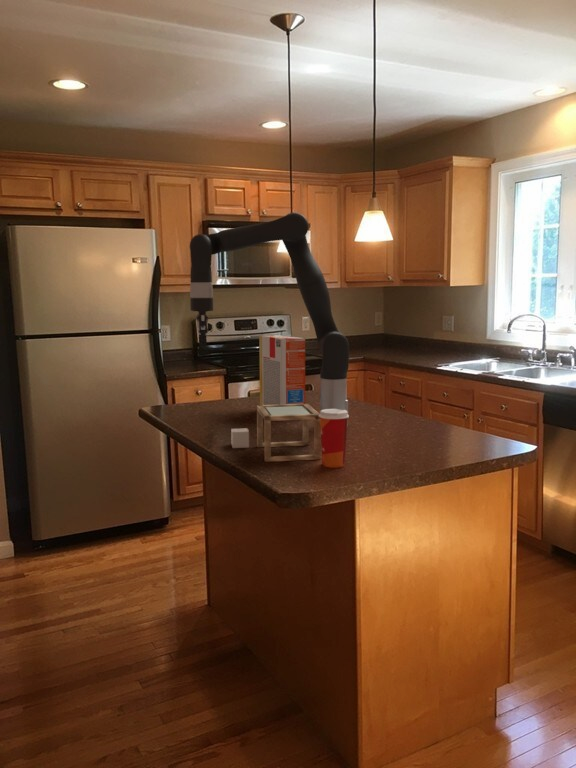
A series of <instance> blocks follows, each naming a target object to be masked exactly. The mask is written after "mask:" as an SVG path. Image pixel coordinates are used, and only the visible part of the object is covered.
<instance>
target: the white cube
mask: <svg viewBox="0 0 576 768" xmlns="http://www.w3.org/2000/svg"><path fill="white" fill-rule="evenodd" d="M230 430H231V432H230V437H231V440H230V441H231V443H230V444H231V447H232V449H243V448H250V432H249V431H250V430H249V429H248V428H247V427H246V428H245V427H244V428H241V427H240V428H230Z"/></svg>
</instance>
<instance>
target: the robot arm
mask: <svg viewBox="0 0 576 768" xmlns="http://www.w3.org/2000/svg"><path fill="white" fill-rule="evenodd" d="M308 231H309V222H308V220H307V218H306V217H305V216H304V215H303V214H301V213H298V212H289V213H287V214H286V215H284V216H282V217H279V218H276V219H273V220H270V221H266V222H262V223H256V224H252V225H245V226H239V227H233V228H228V229H224V230H223V229H222V230H220V231H218V232H215V233H209V234H202V233H200V234H196V235H194V236H193V237H192V238H191V239H190V242H189V251H190V264H191V265H190V288H189V289H190V290H189V296H190V297H189V299H190V311H191V312H198V313H197V315H196V317H195V318H196V319H195V322H196V329H197V333H198V344H199V346H200V347H202V348H203V347H207V334H208V330H209V324H208V323H209V317H208V315H207V312H213V311H214V288H213V271H212V270H213V269H212V257H213V255H216V254H220V253H226V252H233V251H238V250H243V249H246V248H250V247H253V246H257V245H261V244H264V243H270V242H275V241H282V243H283V245H284V247H285V250H286V251H287V253H288V256H289V258H290V262H291V265H292V269H293V273H294V276H295V279H296V283H297V286H298V288H299V292H300V294H301V297H302V300H303V302H304V305H305V307H306V310H307V313H308V316H310V319H311V322H312V324H313V328H314V331H315V336H316V339H317V345H318V349H319V351H320V352H321V354H322V361H321V363H322V365H321V369H320V373H319V374H320V375H319V376H320V378H319V381H320V382H319V383H320V385H319V387H320V389H319V390H320V391H319V395H320V396H319V399H320V400H319V412H320V411H321V410H324V409H338V410H339V409H342V410H346V411H347V412H348V413H349V400H348V399H347V396H348V394H347V393H348V392H347V388H348V385H347V384H348V382H347V379H348V371H349V366H350V365H349V364H350V344H349V340H348V338H347V337H346V336H345V335H344V334H343V333H341V332H339V330H338V327H337V324H336V322H335V320H334V317H333V313H332V305H331V303H332V302H331V297H330V293H329V288H328V286H327V281H326V280H325V277H324V274H323V271H322V270H321V268H320V266H319V264H318V263H317V261H316V259H315V258H314V256H313V254H312V252H311V249H310V247H309V242H308V240H307V236H306V235H307V233H308ZM348 425H349V421H348V422H347V428H349V426H348Z"/></svg>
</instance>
